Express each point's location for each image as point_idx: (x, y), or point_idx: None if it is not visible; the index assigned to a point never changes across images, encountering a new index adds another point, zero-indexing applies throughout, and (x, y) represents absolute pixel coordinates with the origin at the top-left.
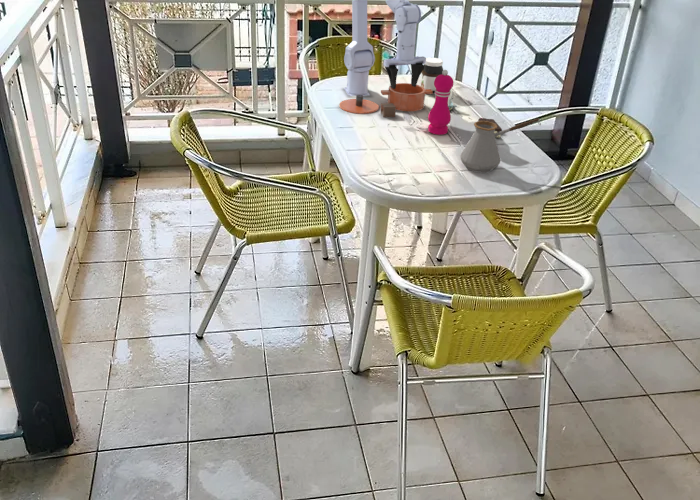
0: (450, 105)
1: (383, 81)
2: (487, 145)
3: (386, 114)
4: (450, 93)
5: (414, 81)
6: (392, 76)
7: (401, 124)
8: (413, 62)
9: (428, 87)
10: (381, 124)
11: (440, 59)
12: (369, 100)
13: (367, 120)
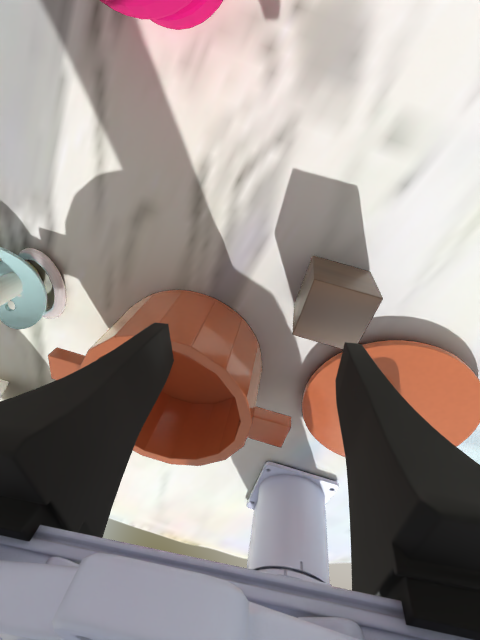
0: (7, 273)
1: (167, 511)
2: None
3: (359, 275)
4: None
5: (150, 353)
6: (438, 435)
7: (331, 163)
8: (66, 569)
9: None
10: (439, 202)
11: None
12: (311, 431)
13: (462, 281)
